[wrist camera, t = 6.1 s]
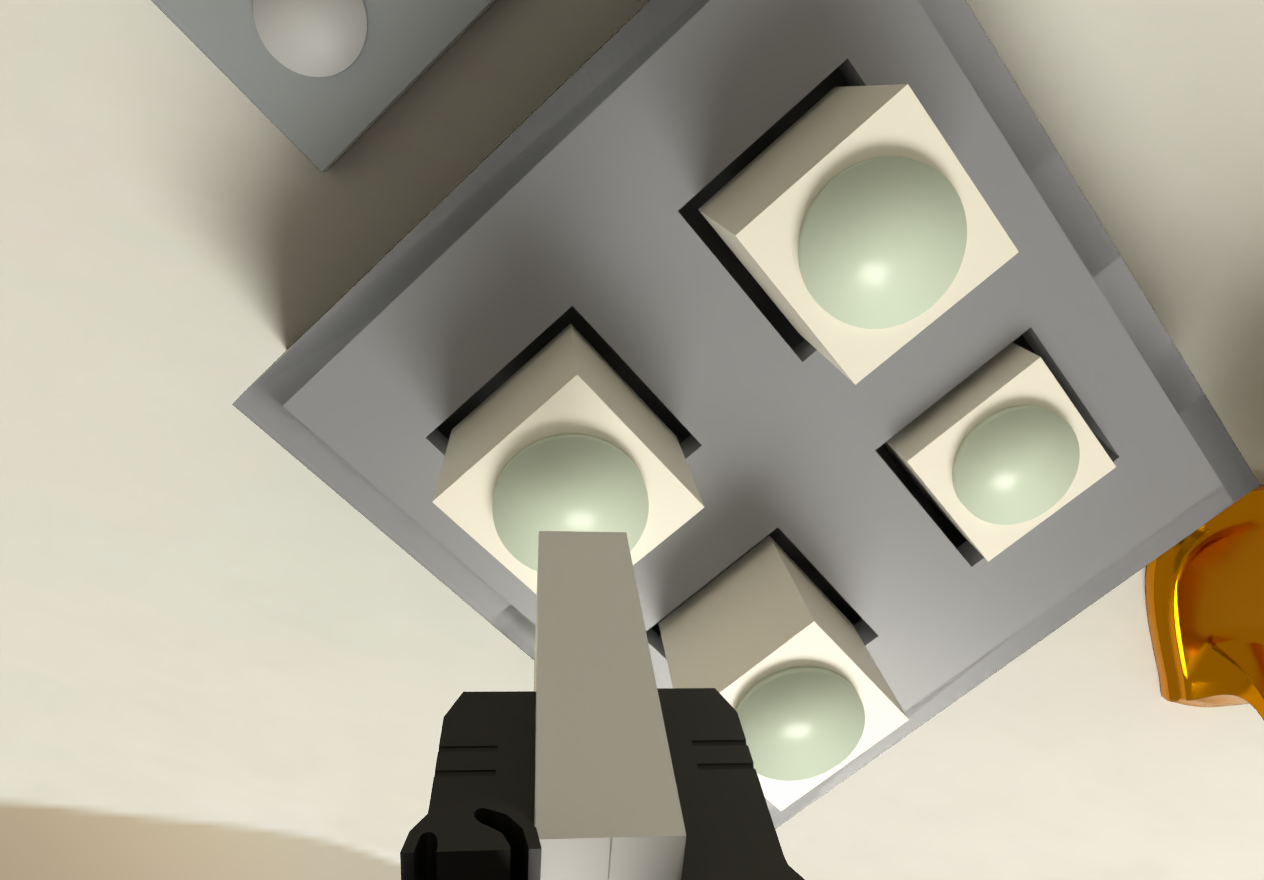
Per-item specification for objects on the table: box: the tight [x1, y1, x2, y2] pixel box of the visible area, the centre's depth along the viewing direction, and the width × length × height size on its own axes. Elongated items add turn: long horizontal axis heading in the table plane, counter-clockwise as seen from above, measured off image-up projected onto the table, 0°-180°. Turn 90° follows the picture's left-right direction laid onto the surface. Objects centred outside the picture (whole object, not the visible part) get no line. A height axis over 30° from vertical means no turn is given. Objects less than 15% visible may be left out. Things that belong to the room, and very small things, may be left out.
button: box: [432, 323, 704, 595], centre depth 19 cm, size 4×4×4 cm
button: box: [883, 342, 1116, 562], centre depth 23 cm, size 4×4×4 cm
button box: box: [232, 0, 1259, 829], centre depth 24 cm, size 20×18×4 cm
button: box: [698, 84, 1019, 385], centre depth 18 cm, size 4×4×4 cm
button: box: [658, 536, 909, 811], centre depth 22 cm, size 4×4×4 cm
